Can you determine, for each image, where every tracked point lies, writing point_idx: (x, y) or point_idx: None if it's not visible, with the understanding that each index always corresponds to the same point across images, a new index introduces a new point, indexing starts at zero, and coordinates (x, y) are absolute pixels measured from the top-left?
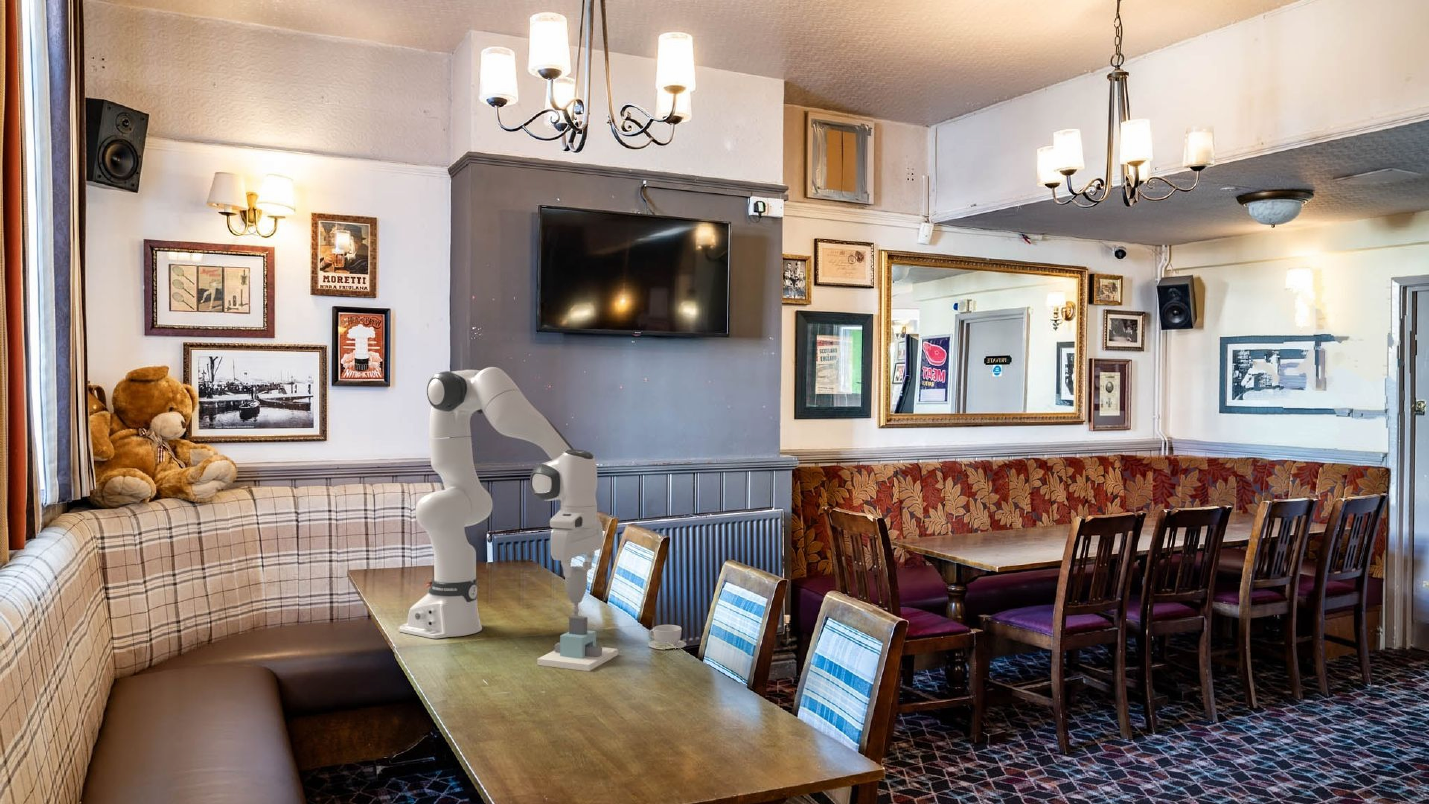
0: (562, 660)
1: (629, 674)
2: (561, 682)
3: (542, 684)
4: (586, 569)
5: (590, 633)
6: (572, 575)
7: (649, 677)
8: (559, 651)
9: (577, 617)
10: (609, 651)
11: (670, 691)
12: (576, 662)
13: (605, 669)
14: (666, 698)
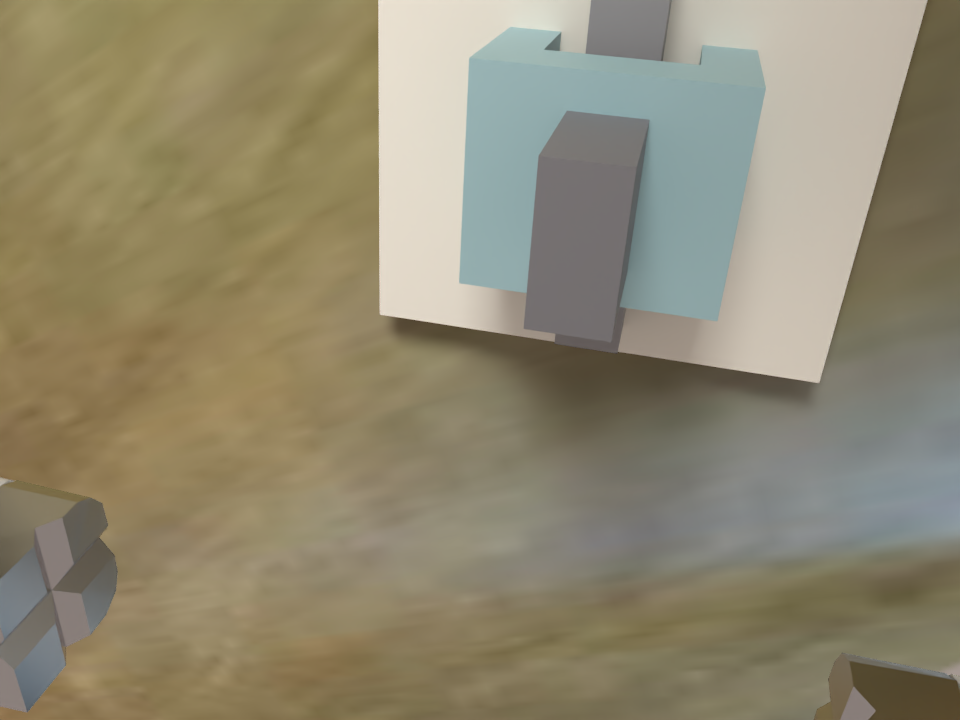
0: (407, 99)
1: (423, 513)
2: (145, 218)
3: (63, 125)
4: (830, 716)
5: (624, 301)
6: (102, 599)
7: (412, 603)
8: None
9: (557, 251)
10: (737, 346)
11: (267, 694)
12: (400, 217)
13: (465, 375)
14: (186, 689)
